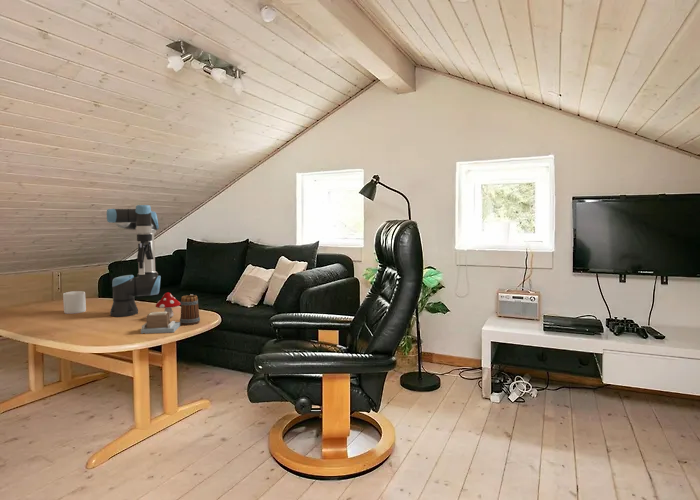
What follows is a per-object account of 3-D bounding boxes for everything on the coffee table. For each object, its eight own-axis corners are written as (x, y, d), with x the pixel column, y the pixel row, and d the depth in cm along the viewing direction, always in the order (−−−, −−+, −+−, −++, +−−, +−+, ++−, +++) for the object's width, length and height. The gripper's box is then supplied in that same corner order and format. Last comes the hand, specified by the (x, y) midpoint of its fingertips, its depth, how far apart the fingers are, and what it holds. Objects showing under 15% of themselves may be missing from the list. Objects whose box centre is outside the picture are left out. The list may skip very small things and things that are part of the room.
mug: (198, 324, 250) (197, 297, 249) (178, 325, 249) (177, 298, 248) (202, 318, 266) (202, 292, 265) (183, 319, 264) (183, 293, 263)
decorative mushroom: (178, 313, 278) (177, 289, 276) (184, 318, 266) (183, 292, 265) (153, 316, 270) (152, 291, 269) (158, 321, 258) (157, 295, 257)
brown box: (150, 325, 242) (149, 311, 241) (169, 324, 244) (169, 311, 243) (146, 328, 235) (146, 314, 235) (167, 327, 237) (166, 314, 237)
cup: (83, 308, 293) (82, 290, 292) (88, 311, 284) (87, 292, 283) (62, 311, 285) (61, 292, 284) (66, 314, 276) (65, 295, 275)
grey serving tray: (149, 326, 247) (149, 320, 247) (180, 325, 249) (180, 319, 249) (140, 333, 232) (140, 326, 232) (173, 332, 235) (173, 325, 234)
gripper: (144, 232, 258) (145, 270, 260) (129, 234, 233) (130, 276, 235) (158, 232, 259) (159, 269, 261) (144, 234, 234) (146, 275, 236)
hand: (145, 272), depth 248 cm, fingers open, 13 cm apart
